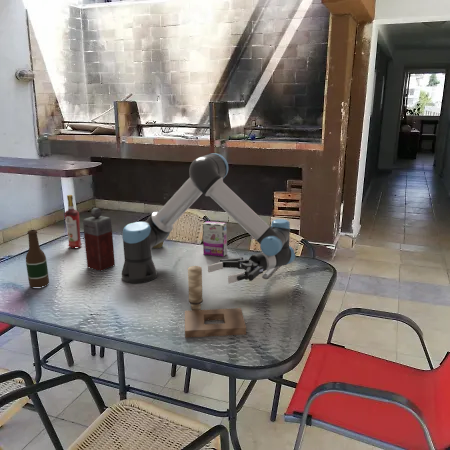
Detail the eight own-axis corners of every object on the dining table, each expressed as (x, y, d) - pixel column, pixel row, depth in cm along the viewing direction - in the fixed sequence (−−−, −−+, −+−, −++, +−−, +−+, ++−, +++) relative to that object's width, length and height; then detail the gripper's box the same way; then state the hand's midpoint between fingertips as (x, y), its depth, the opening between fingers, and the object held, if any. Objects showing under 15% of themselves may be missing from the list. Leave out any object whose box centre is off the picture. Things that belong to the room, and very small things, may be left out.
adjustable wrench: (267, 279, 186) (267, 276, 186) (253, 277, 190) (253, 273, 189) (289, 261, 207) (289, 258, 207) (277, 259, 210) (277, 255, 210)
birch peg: (188, 312, 157) (187, 271, 153) (188, 305, 162) (187, 266, 158) (203, 311, 158) (202, 270, 153) (202, 305, 163) (201, 265, 158)
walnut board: (185, 337, 140) (184, 330, 140) (185, 316, 154) (184, 310, 153) (246, 334, 142) (246, 327, 141) (240, 314, 155) (240, 308, 155)
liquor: (65, 249, 226) (59, 196, 218) (72, 244, 233) (66, 193, 225) (78, 249, 224) (72, 197, 217) (85, 245, 231) (79, 194, 224)
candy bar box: (227, 254, 217) (227, 222, 212) (223, 257, 212) (223, 225, 208) (206, 251, 221) (206, 220, 216) (203, 254, 216) (202, 223, 211)
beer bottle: (53, 283, 183) (46, 229, 177) (38, 290, 176) (31, 234, 170) (40, 280, 186) (32, 227, 180) (25, 287, 180) (17, 232, 173)
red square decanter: (98, 260, 209) (93, 204, 201) (115, 265, 203) (110, 207, 195) (83, 266, 201) (77, 208, 194) (100, 271, 196) (95, 211, 188)
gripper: (282, 280, 165) (238, 294, 153) (243, 262, 185) (201, 273, 173) (283, 261, 163) (238, 275, 151) (243, 245, 182) (200, 255, 171)
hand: (218, 274), depth 162 cm, fingers open, 13 cm apart
